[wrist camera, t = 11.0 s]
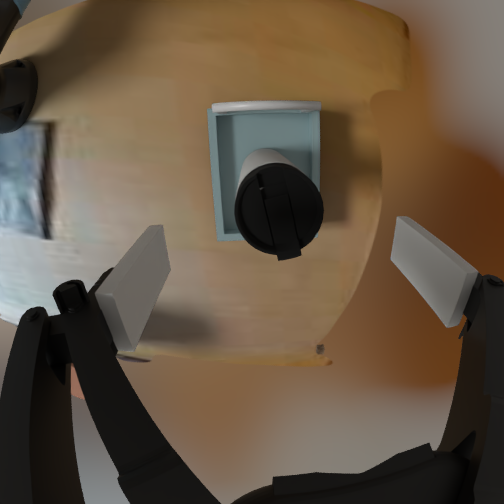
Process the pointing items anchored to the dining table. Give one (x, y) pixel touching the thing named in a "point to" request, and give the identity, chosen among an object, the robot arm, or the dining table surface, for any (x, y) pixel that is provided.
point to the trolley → (258, 146)
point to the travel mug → (276, 205)
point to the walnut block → (320, 349)
